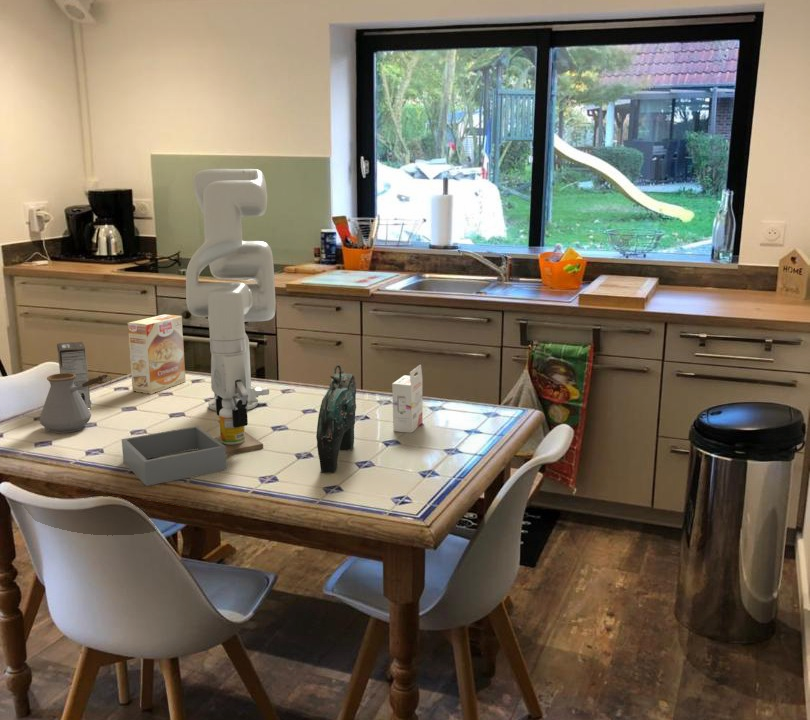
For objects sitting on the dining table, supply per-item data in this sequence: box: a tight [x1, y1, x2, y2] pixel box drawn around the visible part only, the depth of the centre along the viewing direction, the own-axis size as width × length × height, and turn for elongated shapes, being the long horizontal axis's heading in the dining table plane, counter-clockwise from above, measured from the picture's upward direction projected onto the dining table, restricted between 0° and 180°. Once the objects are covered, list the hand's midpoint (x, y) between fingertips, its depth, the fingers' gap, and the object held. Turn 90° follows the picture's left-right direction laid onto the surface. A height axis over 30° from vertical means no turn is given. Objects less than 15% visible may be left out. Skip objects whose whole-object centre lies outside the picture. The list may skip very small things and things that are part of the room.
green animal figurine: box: [315, 364, 357, 474], centre depth 179 cm, size 20×6×20 cm, turn 170°
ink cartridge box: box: [391, 364, 423, 434], centre depth 200 cm, size 9×5×15 cm, turn 161°
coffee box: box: [56, 341, 92, 409], centre depth 219 cm, size 9×6×16 cm
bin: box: [121, 425, 228, 487], centre depth 176 cm, size 17×17×5 cm
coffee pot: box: [39, 373, 112, 434], centre depth 198 cm, size 21×12×15 cm, turn 62°
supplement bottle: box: [218, 399, 246, 445], centre depth 188 cm, size 5×5×10 cm
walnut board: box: [214, 431, 264, 456], centre depth 189 cm, size 10×10×1 cm
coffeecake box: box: [127, 313, 186, 395], centre depth 237 cm, size 15×7×20 cm, turn 155°
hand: (231, 420), depth 188 cm, fingers open, 9 cm apart
